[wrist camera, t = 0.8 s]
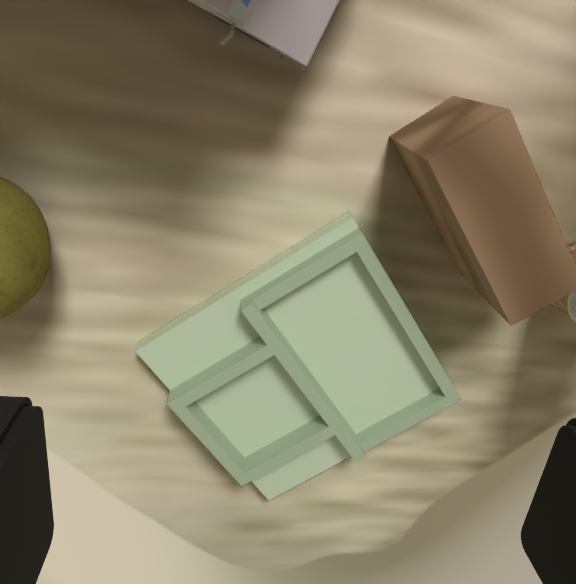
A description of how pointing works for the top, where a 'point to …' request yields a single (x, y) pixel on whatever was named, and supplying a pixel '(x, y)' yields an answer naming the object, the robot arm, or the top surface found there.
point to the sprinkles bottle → (571, 303)
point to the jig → (300, 363)
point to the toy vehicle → (277, 23)
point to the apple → (20, 247)
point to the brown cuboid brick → (488, 205)
